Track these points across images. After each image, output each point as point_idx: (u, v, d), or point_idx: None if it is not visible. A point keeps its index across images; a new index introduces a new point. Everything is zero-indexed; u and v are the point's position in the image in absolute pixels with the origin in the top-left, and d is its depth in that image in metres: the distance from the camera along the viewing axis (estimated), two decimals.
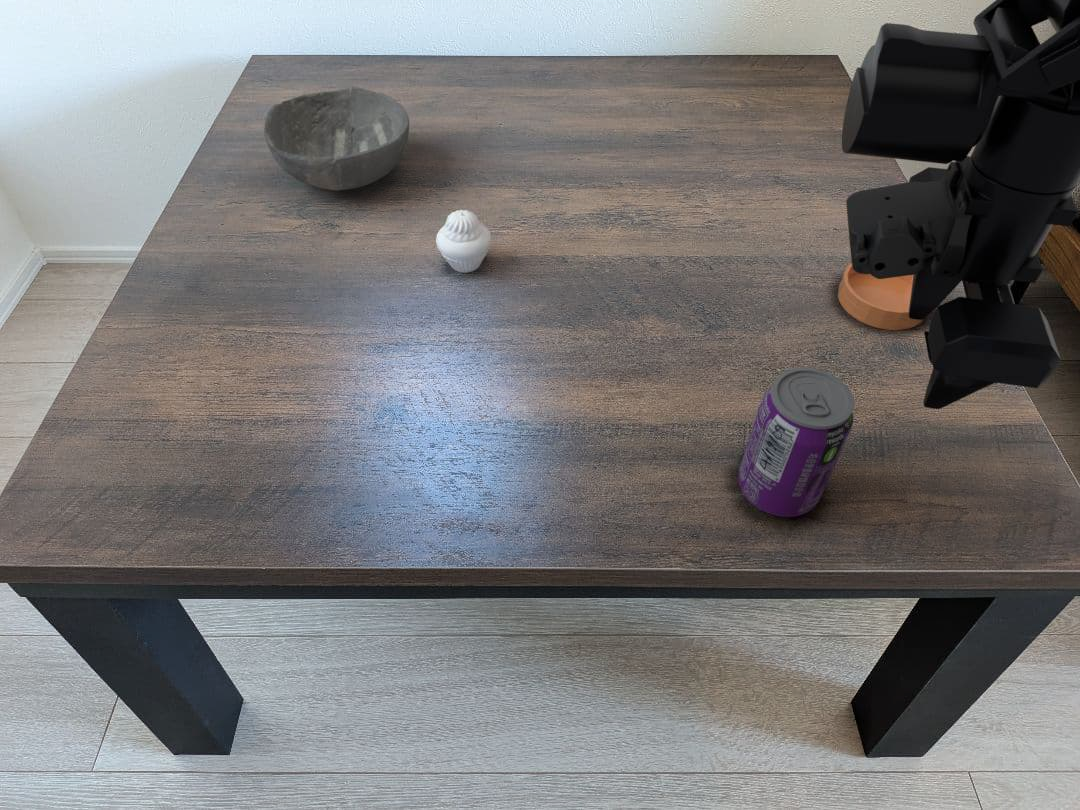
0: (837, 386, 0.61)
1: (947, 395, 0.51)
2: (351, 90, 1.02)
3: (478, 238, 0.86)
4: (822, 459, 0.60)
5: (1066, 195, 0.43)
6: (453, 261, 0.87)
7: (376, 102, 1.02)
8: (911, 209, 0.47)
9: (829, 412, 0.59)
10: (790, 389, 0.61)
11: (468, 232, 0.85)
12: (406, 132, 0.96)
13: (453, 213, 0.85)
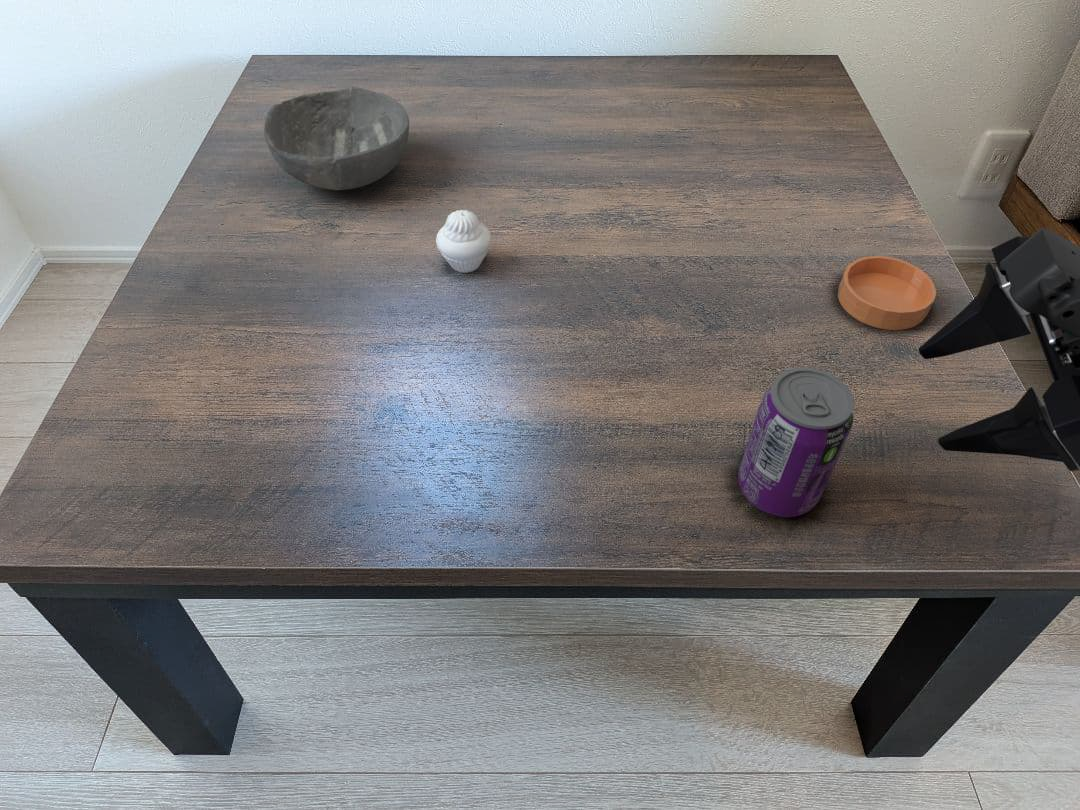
0: (837, 386, 0.61)
1: (973, 445, 0.53)
2: (351, 90, 1.02)
3: (478, 238, 0.86)
4: (822, 459, 0.60)
5: None
6: (453, 261, 0.87)
7: (376, 102, 1.02)
8: None
9: (829, 412, 0.59)
10: (790, 389, 0.61)
11: (468, 232, 0.85)
12: (406, 132, 0.96)
13: (453, 213, 0.85)
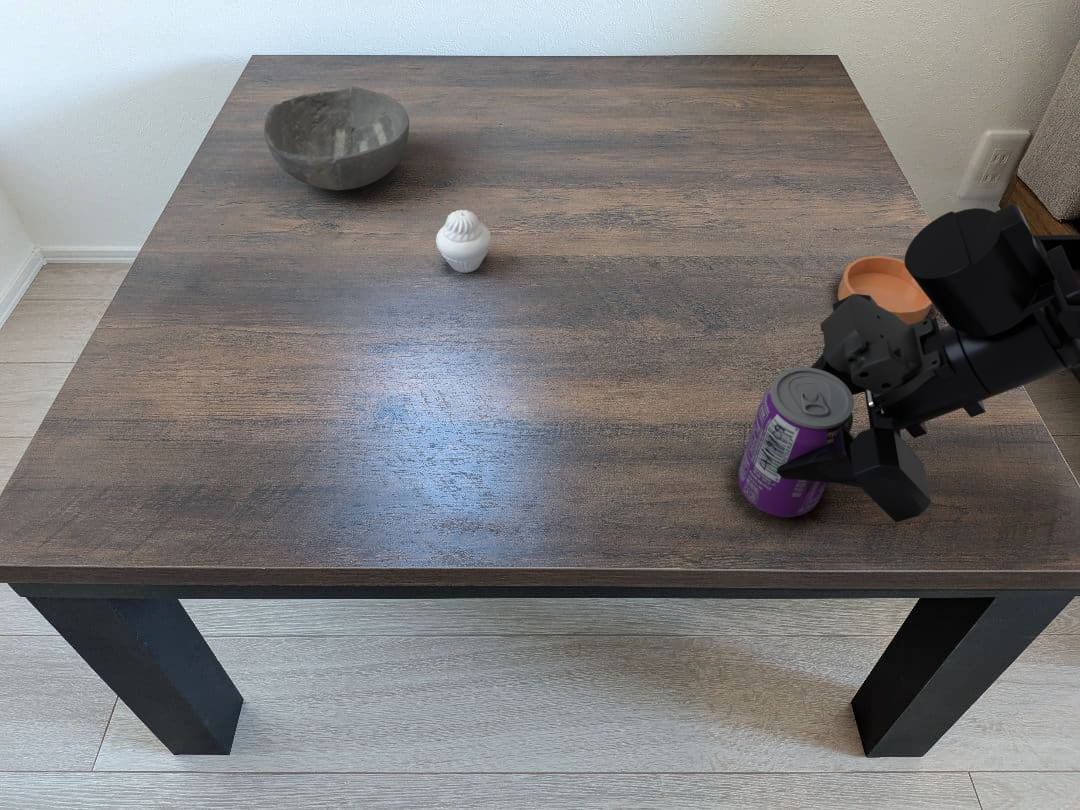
0: (837, 386, 0.61)
1: (804, 474, 0.60)
2: (351, 90, 1.02)
3: (478, 238, 0.86)
4: None
5: (989, 397, 0.54)
6: (453, 261, 0.87)
7: (376, 102, 1.02)
8: (895, 340, 0.54)
9: (829, 412, 0.59)
10: (789, 389, 0.61)
11: (468, 232, 0.85)
12: (406, 132, 0.96)
13: (453, 213, 0.85)
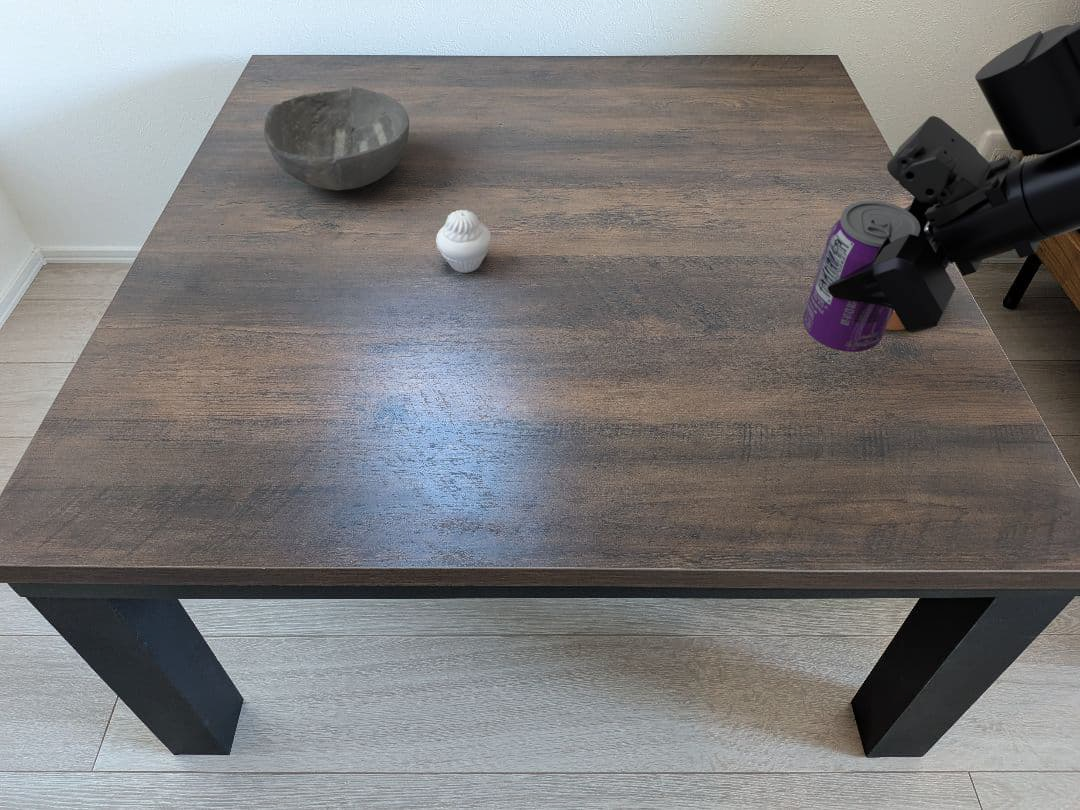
0: (910, 223, 0.64)
1: (849, 291, 0.64)
2: (351, 90, 1.02)
3: (478, 238, 0.86)
4: None
5: (1041, 237, 0.55)
6: (453, 261, 0.87)
7: (376, 102, 1.02)
8: (959, 160, 0.57)
9: (889, 237, 0.63)
10: (863, 215, 0.65)
11: (468, 232, 0.85)
12: (406, 132, 0.96)
13: (453, 213, 0.85)
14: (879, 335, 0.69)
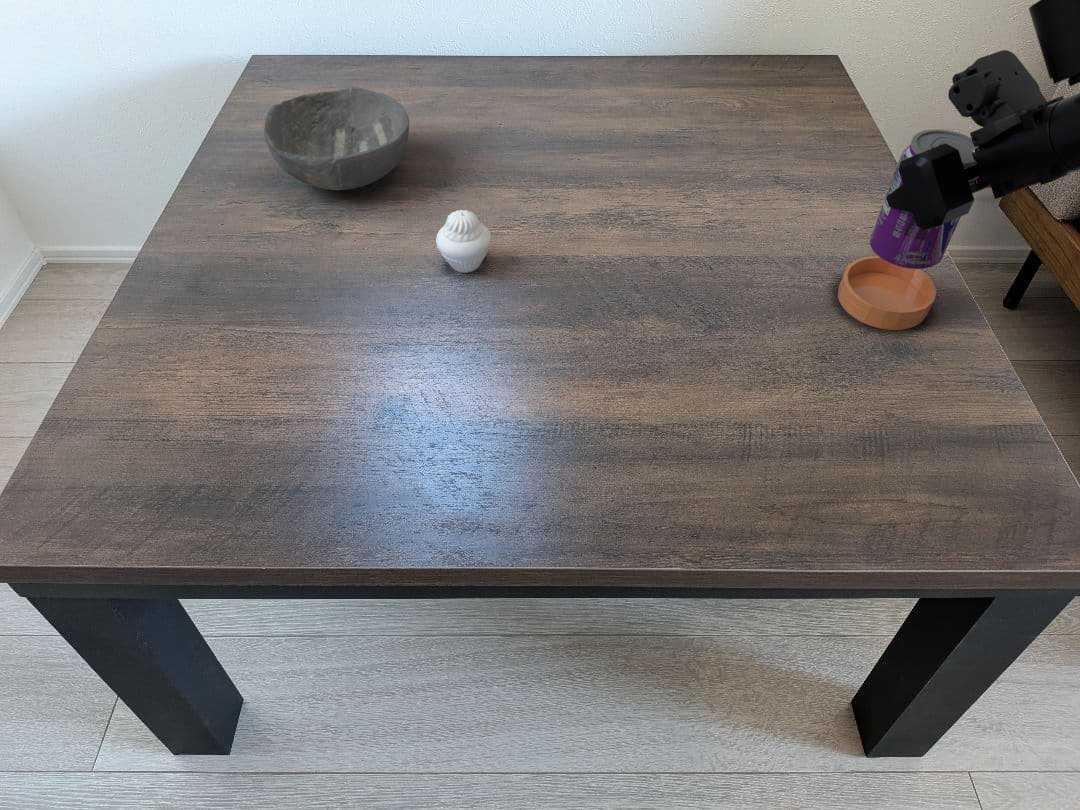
0: None
1: (899, 200, 0.73)
2: (351, 90, 1.02)
3: (478, 238, 0.86)
4: None
5: (1060, 166, 0.61)
6: (453, 261, 0.87)
7: (376, 102, 1.02)
8: (1011, 89, 0.64)
9: None
10: (937, 139, 0.73)
11: (468, 232, 0.85)
12: (406, 132, 0.96)
13: (453, 213, 0.85)
14: (929, 257, 0.76)
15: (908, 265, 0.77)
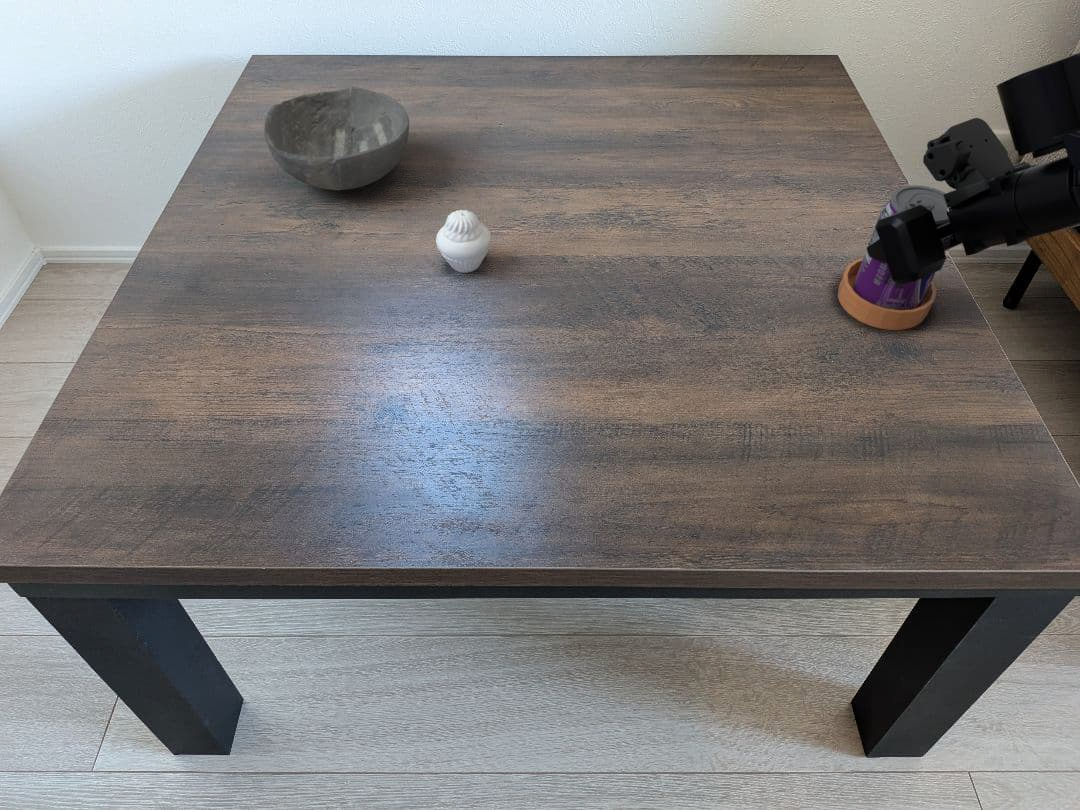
0: None
1: (879, 252, 0.78)
2: (351, 90, 1.02)
3: (478, 238, 0.86)
4: None
5: (1025, 231, 0.66)
6: (453, 261, 0.87)
7: (376, 102, 1.02)
8: (982, 156, 0.68)
9: None
10: (916, 195, 0.78)
11: (468, 232, 0.85)
12: (406, 132, 0.96)
13: (453, 213, 0.85)
14: (908, 304, 0.81)
15: None
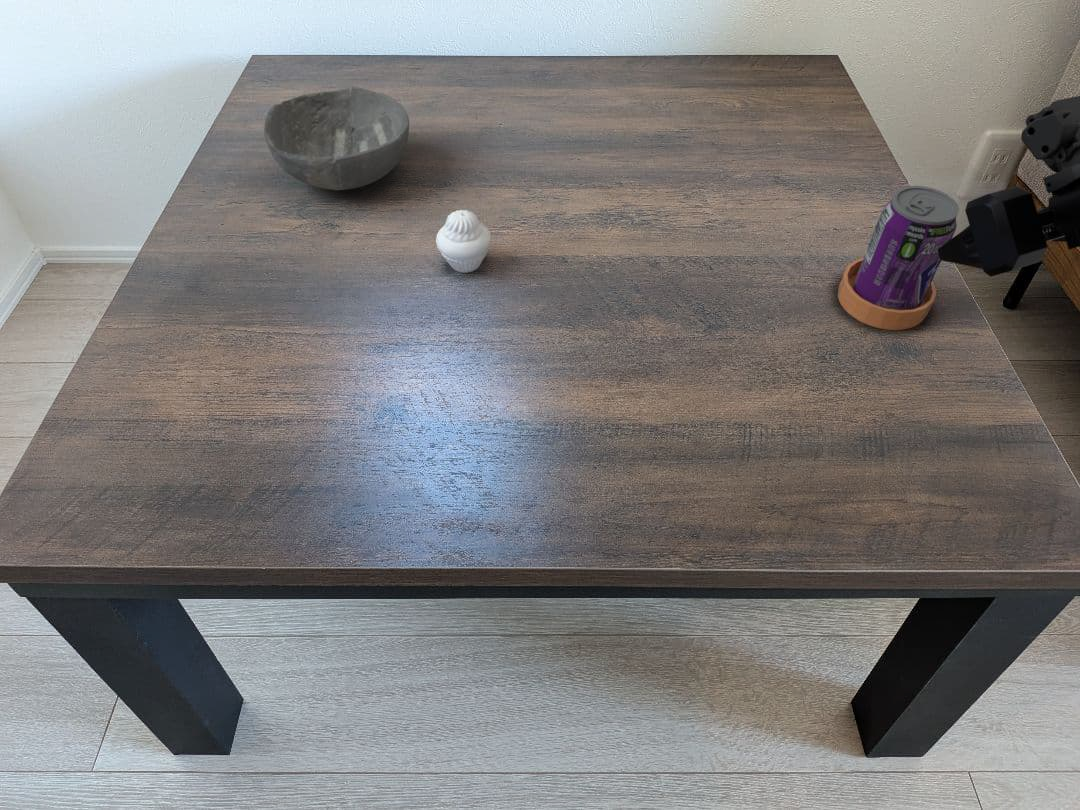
0: (952, 211, 0.76)
1: (953, 252, 0.68)
2: (351, 90, 1.02)
3: (478, 238, 0.86)
4: (900, 251, 0.77)
5: None
6: (453, 261, 0.87)
7: (376, 102, 1.02)
8: None
9: (924, 215, 0.75)
10: (916, 196, 0.77)
11: (468, 232, 0.85)
12: (406, 132, 0.96)
13: (453, 213, 0.85)
14: (908, 304, 0.81)
15: None
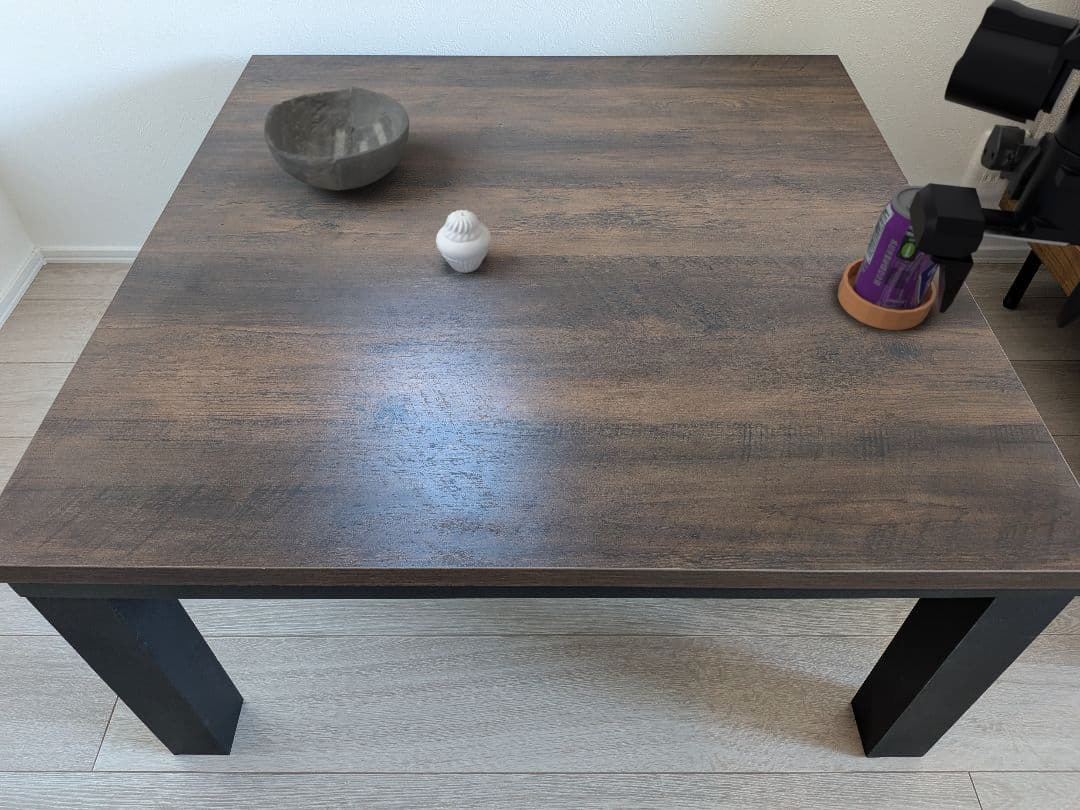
0: None
1: (940, 291, 0.63)
2: (351, 90, 1.02)
3: (478, 238, 0.86)
4: (900, 251, 0.77)
5: (1072, 159, 0.52)
6: (453, 261, 0.87)
7: (376, 102, 1.02)
8: None
9: None
10: None
11: (468, 232, 0.85)
12: (406, 132, 0.96)
13: (453, 213, 0.85)
14: (908, 304, 0.81)
15: None
